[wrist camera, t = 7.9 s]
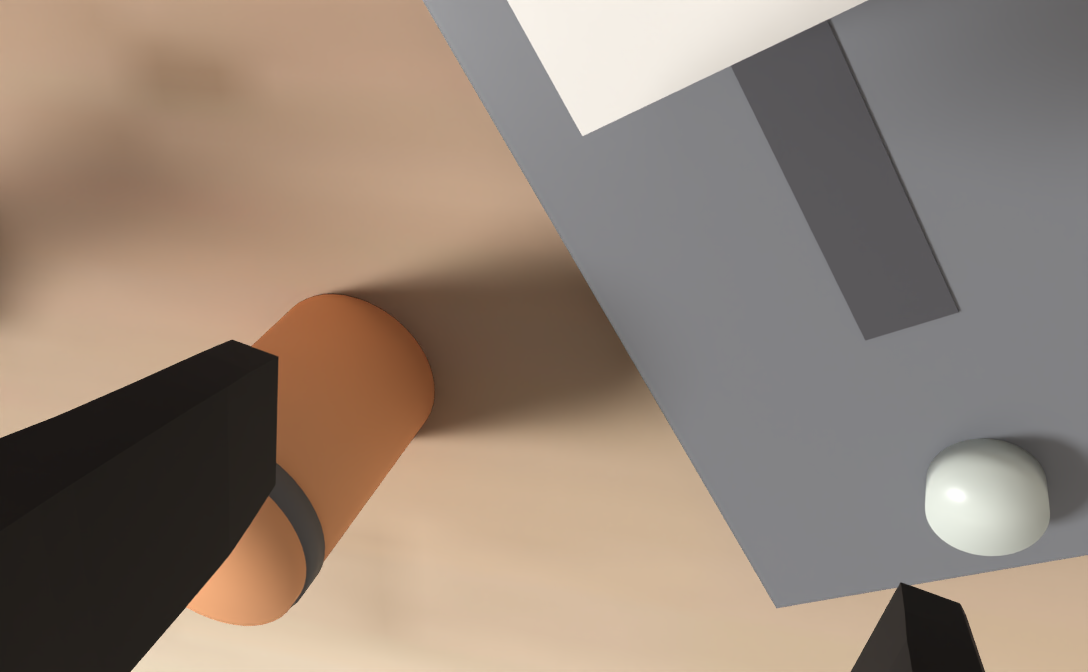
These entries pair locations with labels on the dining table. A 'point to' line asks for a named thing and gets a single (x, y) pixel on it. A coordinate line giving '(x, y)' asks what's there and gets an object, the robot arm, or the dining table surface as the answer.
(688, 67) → the cream rectangular block
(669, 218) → the panel
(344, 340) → the cap
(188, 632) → the dining table surface
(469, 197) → the dining table surface
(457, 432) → the dining table surface
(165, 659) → the dining table surface
